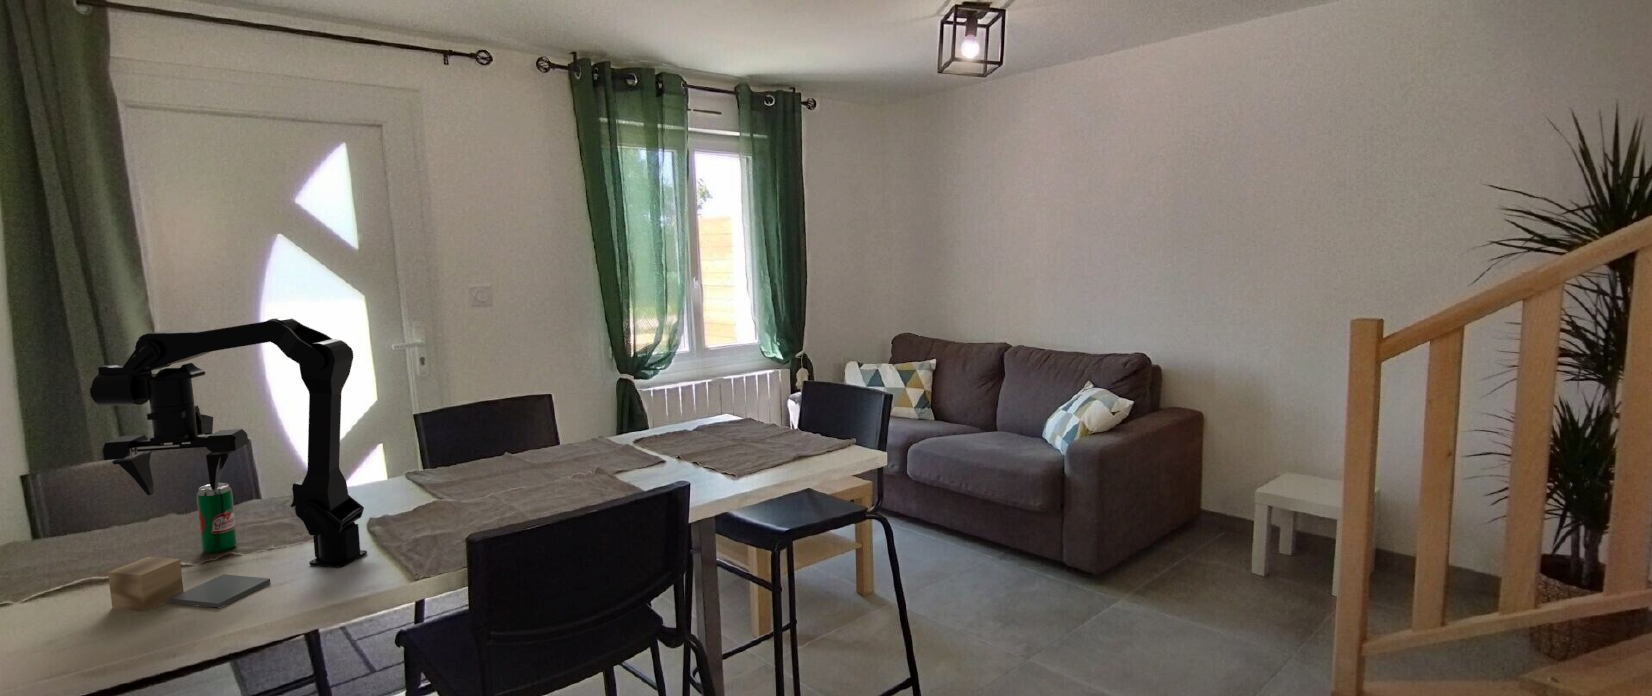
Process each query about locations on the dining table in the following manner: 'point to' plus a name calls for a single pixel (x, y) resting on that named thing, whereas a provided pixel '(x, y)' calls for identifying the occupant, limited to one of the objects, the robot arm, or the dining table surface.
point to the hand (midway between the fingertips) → (183, 492)
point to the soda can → (216, 518)
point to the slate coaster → (220, 591)
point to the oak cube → (145, 583)
